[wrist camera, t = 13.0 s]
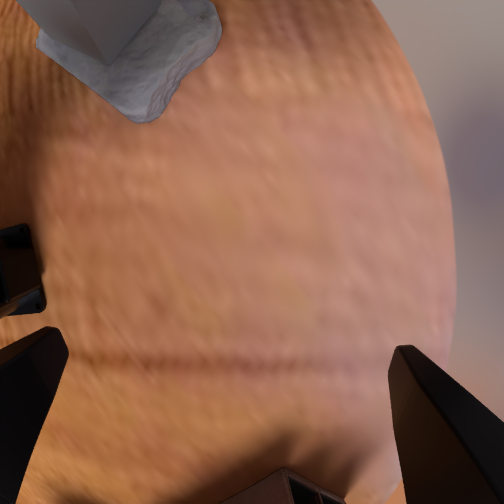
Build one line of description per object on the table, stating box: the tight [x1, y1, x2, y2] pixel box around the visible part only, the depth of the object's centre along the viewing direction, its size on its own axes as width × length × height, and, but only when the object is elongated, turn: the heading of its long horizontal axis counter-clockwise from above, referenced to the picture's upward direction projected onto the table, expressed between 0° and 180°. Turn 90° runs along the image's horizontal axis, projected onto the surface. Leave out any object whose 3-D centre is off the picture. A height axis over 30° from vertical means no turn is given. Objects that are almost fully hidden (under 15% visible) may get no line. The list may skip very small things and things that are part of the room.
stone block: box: [36, 0, 222, 124], centre depth 16 cm, size 12×5×10 cm
